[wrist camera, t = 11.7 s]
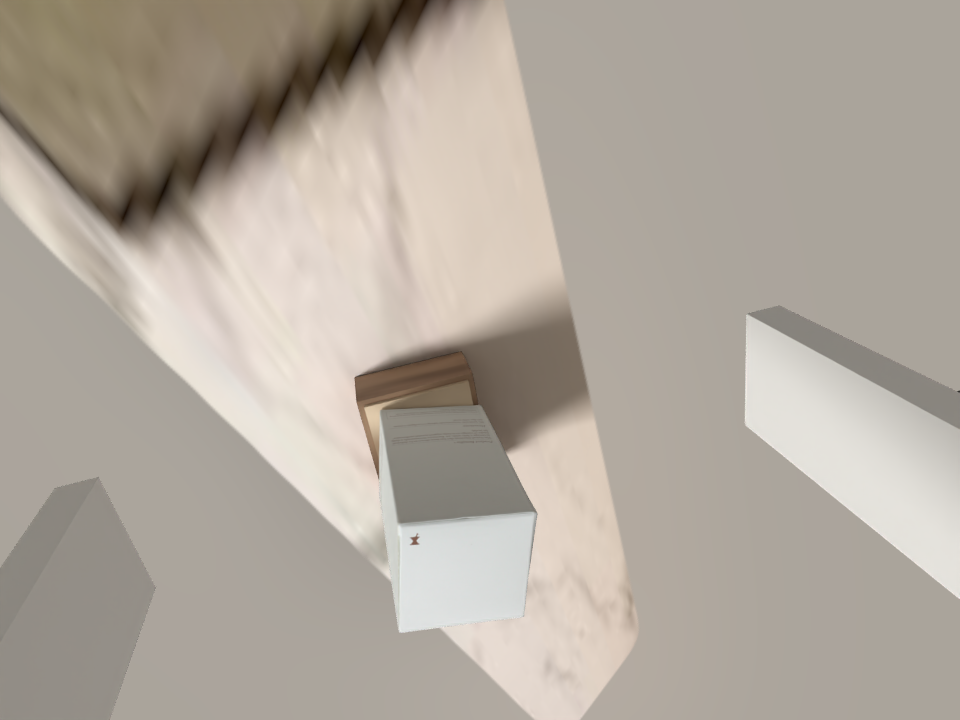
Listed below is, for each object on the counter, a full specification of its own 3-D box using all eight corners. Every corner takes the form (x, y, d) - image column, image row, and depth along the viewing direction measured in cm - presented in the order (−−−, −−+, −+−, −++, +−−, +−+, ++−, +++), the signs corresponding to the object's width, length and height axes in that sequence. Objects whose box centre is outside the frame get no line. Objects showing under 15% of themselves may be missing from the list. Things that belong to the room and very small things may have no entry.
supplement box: (377, 499, 45) (393, 637, 34) (378, 406, 42) (395, 522, 31) (478, 492, 47) (525, 622, 35) (485, 402, 44) (539, 511, 33)
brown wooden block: (354, 377, 46) (356, 404, 42) (461, 351, 47) (473, 374, 43) (386, 489, 50) (390, 522, 46) (483, 462, 51) (496, 493, 47)
